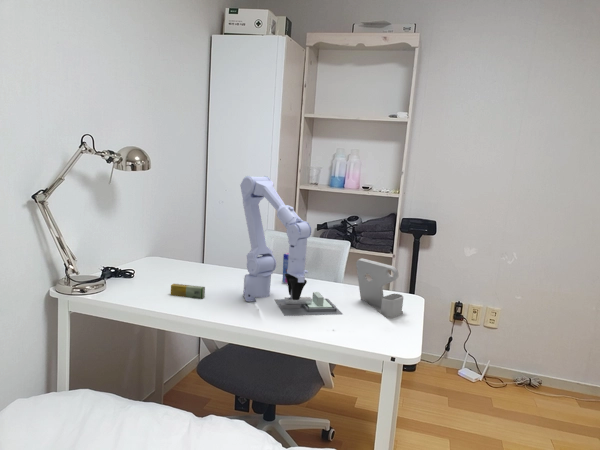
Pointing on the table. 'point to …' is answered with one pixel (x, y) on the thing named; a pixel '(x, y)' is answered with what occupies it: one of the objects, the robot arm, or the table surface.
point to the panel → (305, 309)
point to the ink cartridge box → (286, 266)
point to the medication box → (188, 291)
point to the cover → (318, 302)
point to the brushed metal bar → (301, 301)
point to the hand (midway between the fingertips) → (294, 297)
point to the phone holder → (378, 287)
